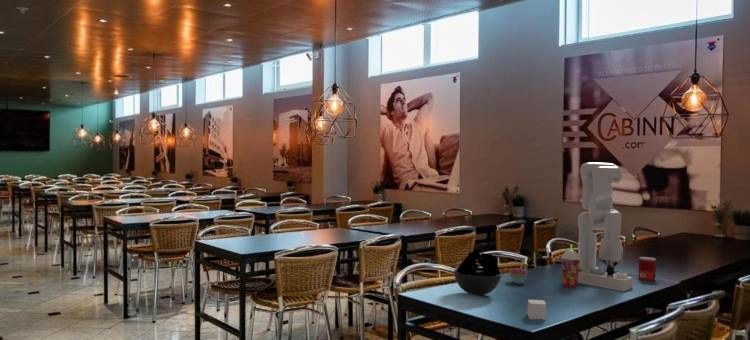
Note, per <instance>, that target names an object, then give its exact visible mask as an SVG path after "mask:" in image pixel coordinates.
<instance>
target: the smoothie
mask: <svg viewBox="0 0 750 340" xmlns="http://www.w3.org/2000/svg"><path fill="white" fill-rule="evenodd" d="M579 262H580V258H579V255H578V251H576V250H573V244H570V249H568V250H565V252H563V254H562V256H561V283H562V285H563V287H565V288H570V287H571V289H573V287H574V288H576V287H577V285H578V283H577V281H578V272H579V271H580V270H579Z"/></svg>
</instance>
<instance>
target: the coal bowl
mask: <svg viewBox="0 0 750 340" xmlns="http://www.w3.org/2000/svg"><path fill="white" fill-rule="evenodd" d="M480 252H481V250H480V249H475V250H473V251H470V252H469V253H468V254H467V256H465V258H464V260H462V262H461V263H460V265H458V267H457V268H455V269H454V271H453V273H454V278H455V281H456V282H457V285H458V287H460V289H462V290H463V291H464V292H466V293H467V294H469V295H472V296H477V297H478V296H485V295H488V294H490V293H491V292H493V291H494V290H495V289H497V287H498V285H499V283H500V281H501V277H502V273H501V271H500V268H499V265H498V262H499V260H498V258H497V257H496V256H494V255H493V254H492V253H484V252H482V253H480ZM477 261H478V263H479V264H480V266H481V267H479V266H478V264H477Z"/></svg>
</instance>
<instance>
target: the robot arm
mask: <svg viewBox="0 0 750 340" xmlns="http://www.w3.org/2000/svg"><path fill="white" fill-rule="evenodd" d="M579 172H580V178H581V182H582V194H581V206H582V208H583V209H585V210H587V211H584V212H581V213H579V215H578V216H577V226H578V244H577V245H578V246H577V249H578V251H577V254H578V255H579V258H580V262H579V271H583V268H584V267H591V268H594V269H600V268H599V267H598V266H597V253H598V259H599V262H602V263H604V264H605V267H606V273H607V275H613V274H615V267H616V266H617V265H621V264H623V263H624V262H623V260H624V258H623V257H624V250H623V248H624V247H623V242H622V240H621V231H622V230H621V229H622V228H621V227H622V213H621V212H620V211H618V210H617V209H614V203H613V202H614V201H613V196H612V195H613V192H614V190H613V187H612V186H613V185H612V184H619V183H621V181H622V179H623V175H622V174H623V173H622V170H621V168H620V167H619V166H618V165H616V164H614V163H611V162H593V161H592V162H591V161H590V162H585V163H582V164H581V165H580V170H579ZM595 230H596V231H603V232H601V233H600V236H601V237H602V238H601V239H600V243H599V249H598V250H597V247H598V246H597V245H598V237H597V235H596V234H595V232H594V231H595ZM597 251H598V252H597Z"/></svg>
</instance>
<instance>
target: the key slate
mask: <svg viewBox="0 0 750 340" xmlns="http://www.w3.org/2000/svg"><path fill="white" fill-rule="evenodd" d="M605 273H606V269H601V268H599V269H594V270H593V274H597V275H604V274H605Z"/></svg>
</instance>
